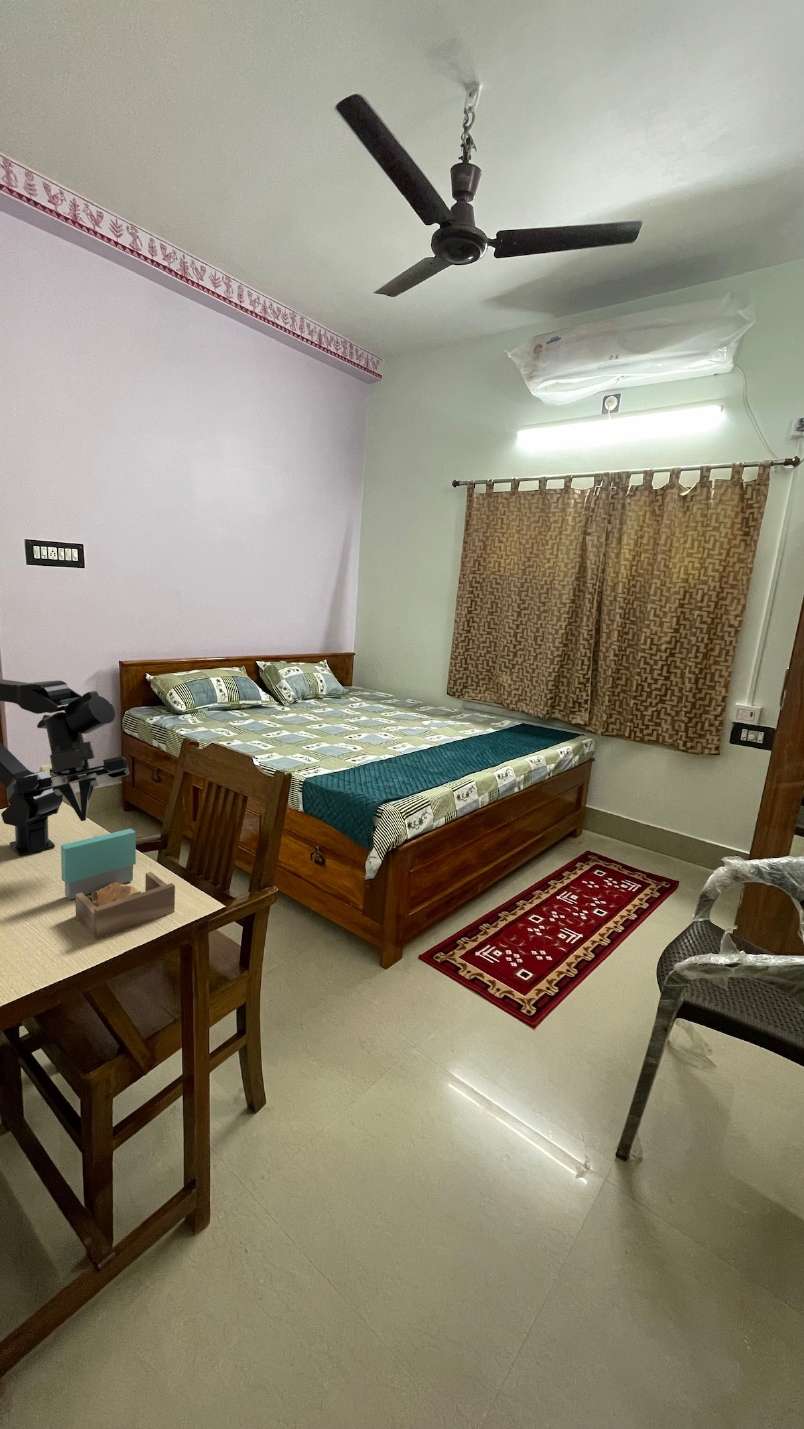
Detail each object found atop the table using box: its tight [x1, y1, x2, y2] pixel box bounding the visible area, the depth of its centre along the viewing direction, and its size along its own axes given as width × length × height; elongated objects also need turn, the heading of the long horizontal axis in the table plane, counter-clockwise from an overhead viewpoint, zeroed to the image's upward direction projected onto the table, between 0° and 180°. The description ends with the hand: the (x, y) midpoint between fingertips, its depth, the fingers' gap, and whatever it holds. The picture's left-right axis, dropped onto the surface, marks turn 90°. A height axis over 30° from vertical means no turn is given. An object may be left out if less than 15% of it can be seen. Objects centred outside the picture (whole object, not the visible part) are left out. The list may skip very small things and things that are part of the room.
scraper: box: [60, 828, 137, 900], centre depth 103 cm, size 2×12×10 cm, turn 139°
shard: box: [91, 882, 142, 907], centre depth 99 cm, size 11×8×2 cm
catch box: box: [74, 871, 176, 941], centre depth 97 cm, size 9×13×5 cm
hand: (83, 820), depth 106 cm, fingers closed
